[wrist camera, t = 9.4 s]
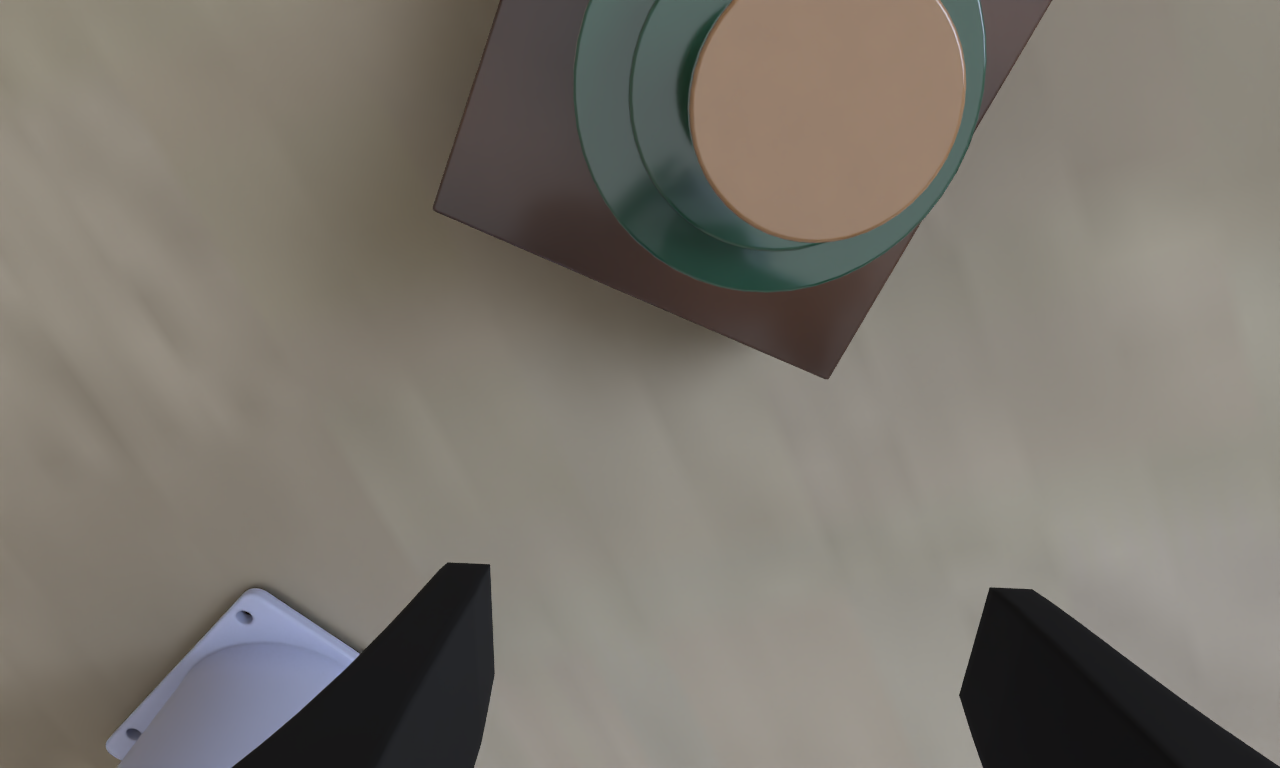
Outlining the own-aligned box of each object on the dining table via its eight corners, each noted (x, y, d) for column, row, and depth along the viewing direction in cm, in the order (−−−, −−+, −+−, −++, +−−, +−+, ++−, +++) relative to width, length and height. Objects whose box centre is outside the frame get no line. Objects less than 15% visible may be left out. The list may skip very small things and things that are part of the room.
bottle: (729, 270, 15) (801, 463, 8) (544, 88, 14) (423, 115, 7) (927, 79, 14) (1240, 98, 6) (740, -145, 12) (867, -445, 5)
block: (795, 322, 20) (828, 381, 16) (474, 181, 19) (430, 210, 15) (991, -31, 17) (1087, -58, 13) (617, -233, 15) (605, -328, 12)
